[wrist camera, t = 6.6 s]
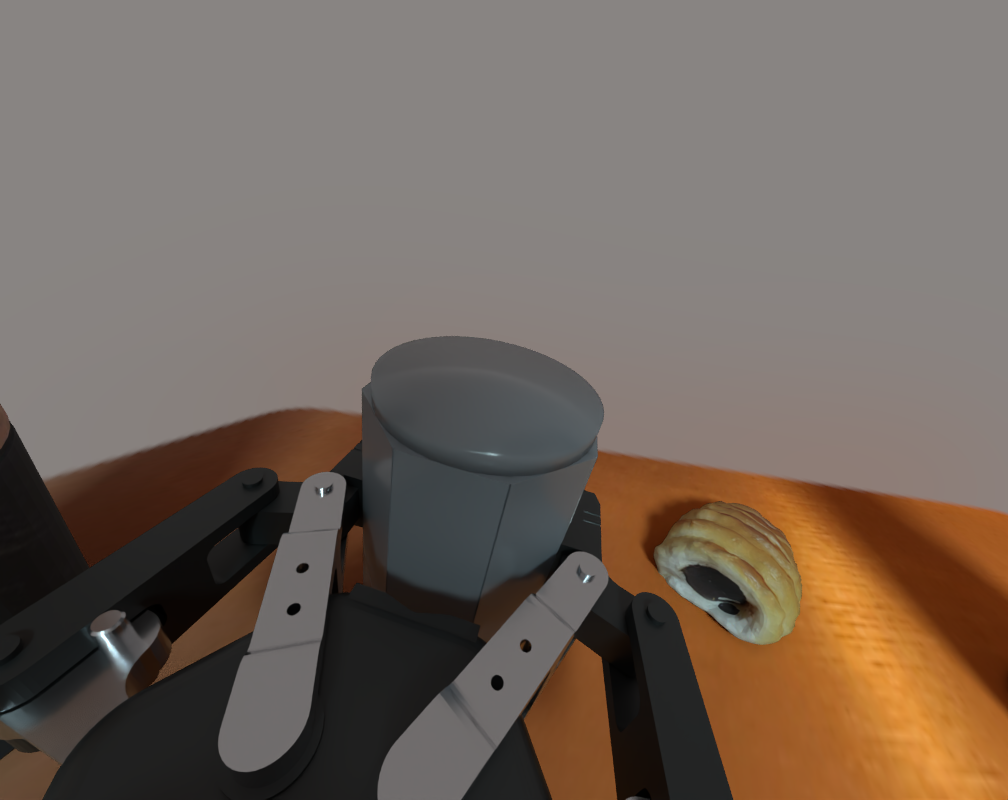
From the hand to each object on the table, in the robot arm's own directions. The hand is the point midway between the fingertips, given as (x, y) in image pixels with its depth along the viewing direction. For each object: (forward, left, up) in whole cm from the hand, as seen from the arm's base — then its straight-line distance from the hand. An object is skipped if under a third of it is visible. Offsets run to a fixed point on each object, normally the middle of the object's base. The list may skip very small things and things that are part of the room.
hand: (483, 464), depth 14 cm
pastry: (-14, -5, -7) cm, 17 cm away
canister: (0, +2, -7) cm, 7 cm away
